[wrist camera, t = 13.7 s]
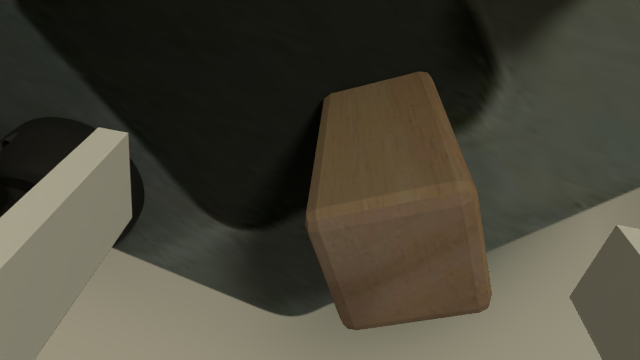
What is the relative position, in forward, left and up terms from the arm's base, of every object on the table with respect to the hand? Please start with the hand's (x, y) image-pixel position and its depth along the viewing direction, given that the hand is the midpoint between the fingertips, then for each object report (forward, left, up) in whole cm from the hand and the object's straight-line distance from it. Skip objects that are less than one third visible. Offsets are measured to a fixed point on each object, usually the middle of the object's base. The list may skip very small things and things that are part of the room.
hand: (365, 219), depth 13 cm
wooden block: (+5, -11, -31) cm, 33 cm away
